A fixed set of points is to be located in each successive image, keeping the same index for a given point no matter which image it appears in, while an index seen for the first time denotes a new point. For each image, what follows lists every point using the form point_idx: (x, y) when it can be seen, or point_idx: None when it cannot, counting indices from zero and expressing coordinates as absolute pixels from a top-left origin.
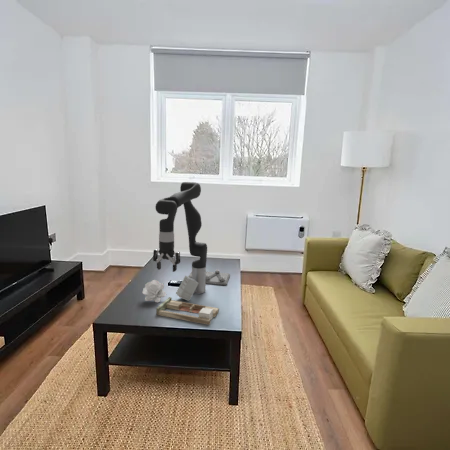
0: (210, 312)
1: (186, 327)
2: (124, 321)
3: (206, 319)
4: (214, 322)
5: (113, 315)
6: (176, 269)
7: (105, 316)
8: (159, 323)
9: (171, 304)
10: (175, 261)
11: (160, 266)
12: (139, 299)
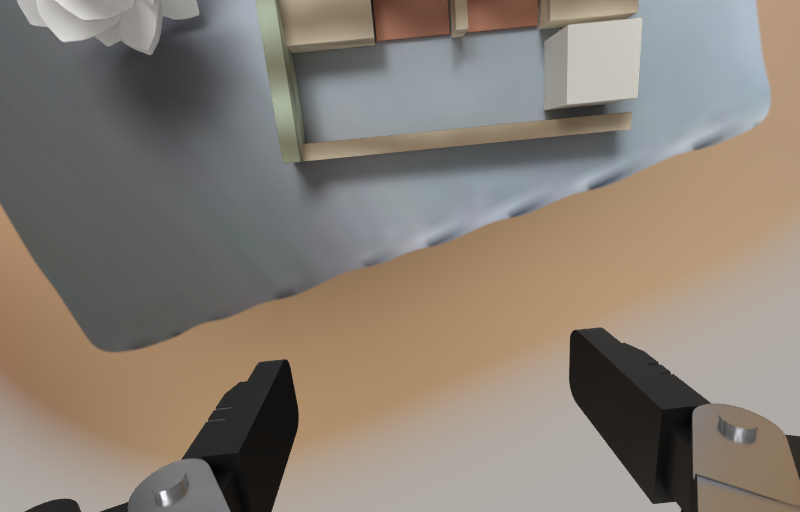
0: (638, 72)
1: (513, 208)
2: (200, 296)
3: (611, 124)
4: None
5: (100, 274)
6: (639, 356)
7: (75, 300)
8: (368, 235)
9: (318, 36)
10: (764, 484)
11: (276, 397)
12: None
